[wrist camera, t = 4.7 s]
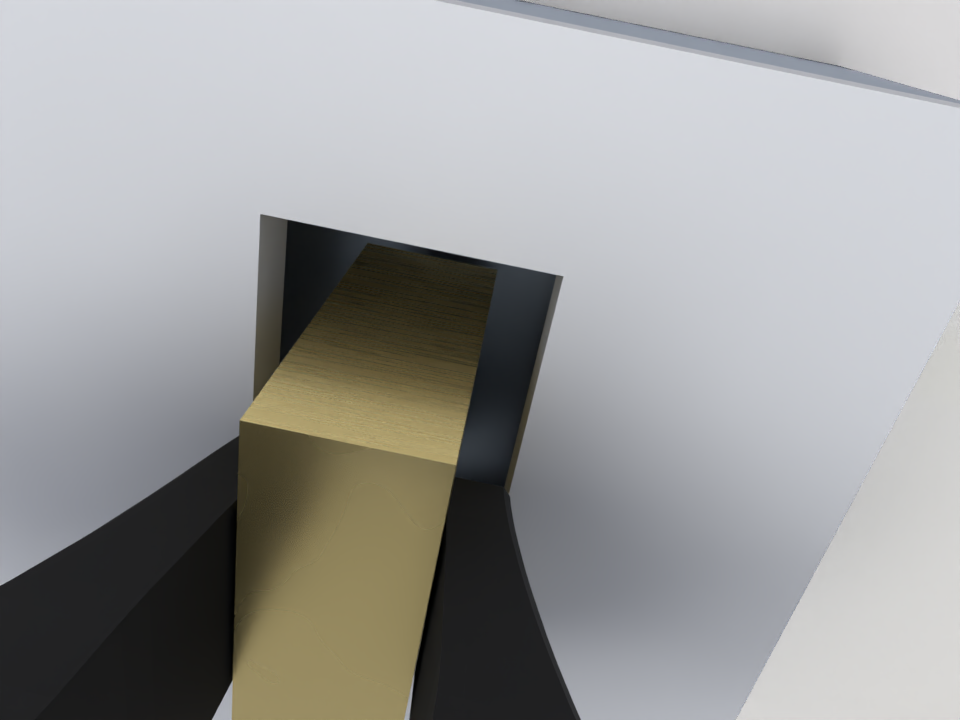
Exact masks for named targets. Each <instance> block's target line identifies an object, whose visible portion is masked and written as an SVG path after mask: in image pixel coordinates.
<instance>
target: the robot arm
mask: <svg viewBox="0 0 960 720" xmlns="http://www.w3.org/2000/svg"><path fill="white" fill-rule="evenodd" d="M238 457H239V436H237V437H236V438H234V439H233V440H231V441H230V442H228V443H227V444H225V445H223V446H222V447H220V448H219V449H217V450H216V451H214V452H213V453H211V454H210V455H209V456H207V457H206V458H204V459H203V460H201V461H200V462H198V463H197V464H195V465H194V466H192V467H191V468H189V469H188V470H186V471H185V472H184V473H182V474H181V475H179V476H178V477H176V478H175V479H173V480H172V481H170V482H169V483H167V484H166V485H164V486H163V487H161V488H160V489H158V490H157V491H155V492H154V493H152V494H151V495H149V496H148V497H146V498H145V499H143V500H141V501H140V502H138V503H137V504H135V505H134V506H132V507H131V508H129V509H127V510H126V511H124V512H123V513H121V514H120V515H118V516H116V517H115V518H113V519H112V520H110V521H109V522H107V523H106V524H104V525H102V526H101V527H99V528H98V529H96V530H95V531H93V532H91V533H90V534H88V535H86V536H85V537H83V538H82V539H80V540H78V541H76V542H75V543H73V544H71V545H70V546H68V547H66V548H64V549H63V550H61V551H59V552H58V553H56V554H54V555H52V556H51V557H49V558H47V559H46V560H44V561H42V562H41V563H39V564H37V565H35V566H34V567H32V568H30V569H29V570H27V571H25V572H23V573H22V574H20V575H18V576H17V577H15V578H13V579H11V580H10V581H8V582H6V583H4V584H2V585H1V586H0V720H212V719H213V717H214V715H215V713H216V711H217V709H218V707H219V705H220V703H221V702H222V700H223V698H224V696H225V694H226V692H227V690H228V688H229V686H230V684H231V682H232V680H233V647H234V609H235V571H236V533H237V495H238ZM409 720H581V719H580V716H579V714H578V712H577V710H576V707H575V705H574V703H573V700H572V698H571V695H570V693H569V690H568V688H567V686H566V683H565V681H564V678H563V676H562V673H561V671H560V669H559V666H558V664H557V661H556V658H555V656H554V653H553V650H552V648H551V645H550V642H549V640H548V637H547V634H546V631H545V628H544V625H543V622H542V620H541V617H540V614H539V611H538V608H537V605H536V602H535V599H534V596H533V593H532V590H531V587H530V583H529V580H528V577H527V573H526V570H525V566H524V563H523V559H522V555H521V551H520V548H519V544H518V539H517V535H516V531H515V526H514V521H513V515H512V509H511V501H510V495H509V494H508V493H507V491H506V490H505V488H504V487H502V486H497V485H492V484H487V483H483V482H478V481H473V480H468V479H463V478H458V477H455V479H454V484H453V488H452V493H451V498H450V503H449V507H448V512H447V517H446V522H445V527H444V532H443V536H442V541H441V546H440V551H439V556H438V561H437V566H436V571H435V576H434V580H433V585H432V590H431V595H430V600H429V605H428V610H427V615H426V620H425V625H424V629H423V634H422V639H421V644H420V649H419V654H418V659H417V664H416V669H415V674H414V683H413V692H412V700H411V709H410V718H409Z"/></svg>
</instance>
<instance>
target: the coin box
mask: <svg viewBox="0 0 960 720" xmlns="http://www.w3.org/2000/svg"><path fill="white" fill-rule="evenodd" d="M367 243H371V244H376V245H381V246H386V247H391V248H396V249H400V250H405V251H410V252H415V253H420V254H425V255H429V256H434V257H439V258H444V259H449V260H454V261H458V262H463V263H468V264H473V265H478V266H483V267H487V268H492V269H497V275H496V280H495V285H494V290H493V294H492V299H491V304H490V309H489V314H488V319H487V324H486V328H485V333H484V338H483V343H482V348H481V353H480V358H479V362H478V367H477V372H476V377H475V382H474V387H473V392H472V397H471V401H470V406H469V411H468V416H467V421H466V426H465V431H464V435H463V440H462V445H461V450H460V455H459V460H458V465H457V470H456V474H455V477H458V478H463V479H468V480H473V481H478V482H483V483H487V484H492V485H497V486H502V487H504V488H505V490H506V491H507V493H508V494H509V495H510V501H511V509H512V515H513V521H514V526H515V531H516V535H517V539H518V544H519V548H520V551H521V555H522V559H523V563H524V566H525V570H526V573H527V577H528V580H529V583H530V587H531V590H532V593H533V596H534V599H535V602H536V605H537V608H538V611H539V614H540V617H541V620H542V622H543V625H544V628H545V631H546V634H547V637H548V640H549V642H550V645H551V648H552V650H553V653H554V656H555V658H556V661H557V664H558V666H559V669H560V671H561V673H562V676H563V678H564V681H565V683H566V686H567V688H568V690H569V693H570V695H571V698H572V700H573V703H574V705H575V707H576V710H577V712H578V714H579V716H580V719H581V720H736V718H737V716H738V715H739V713H740V711H741V709H742V707H743V705H744V703H745V701H746V700H747V698H748V696H749V694H750V692H751V690H752V688H753V687H754V685H755V683H756V681H757V679H758V677H759V675H760V673H761V672H762V670H763V668H764V666H765V664H766V662H767V660H768V659H769V657H770V655H771V653H772V651H773V649H774V647H775V645H776V644H777V642H778V640H779V638H780V636H781V634H782V632H783V630H784V629H785V627H786V625H787V623H788V621H789V619H790V617H791V616H792V614H793V612H794V610H795V608H796V606H797V604H798V602H799V601H800V599H801V597H802V595H803V593H804V591H805V589H806V588H807V586H808V584H809V582H810V580H811V578H812V576H813V574H814V573H815V571H816V569H817V567H818V565H819V563H820V561H821V560H822V558H823V556H824V554H825V552H826V550H827V548H828V546H829V545H830V543H831V541H832V539H833V537H834V535H835V533H836V532H837V530H838V528H839V526H840V524H841V522H842V520H843V518H844V517H845V515H846V513H847V511H848V509H849V507H850V505H851V503H852V502H853V500H854V498H855V496H856V494H857V492H858V490H859V489H860V487H861V485H862V483H863V481H864V479H865V477H866V475H867V474H868V472H869V470H870V468H871V466H872V464H873V462H874V461H875V459H876V457H877V455H878V453H879V451H880V449H881V447H882V446H883V444H884V442H885V440H886V438H887V436H888V434H889V433H890V431H891V429H892V427H893V425H894V423H895V421H896V419H897V418H898V416H899V414H900V412H901V410H902V408H903V406H904V404H905V403H906V401H907V399H908V397H909V395H910V393H911V391H912V390H913V388H914V386H915V384H916V382H917V380H918V378H919V376H920V375H921V373H922V371H923V369H924V367H925V365H926V363H927V362H928V360H929V358H930V356H931V354H932V352H933V350H934V348H935V347H936V345H937V343H938V341H939V339H940V337H941V335H942V334H943V332H944V330H945V328H946V326H947V324H948V322H949V320H950V319H951V317H952V315H953V313H954V311H955V309H956V307H957V305H958V304H959V302H960V100H956V99H953V98H949V97H946V96H942V95H939V94H935V93H932V92H928V91H925V90H921V89H918V88H914V87H911V86H907V85H904V84H900V83H897V82H893V81H890V80H886V79H883V78H879V77H876V76H872V75H869V74H865V73H862V72H858V71H855V70H851V69H848V68H844V67H841V66H836V65H831V64H827V63H822V62H817V61H812V60H807V59H802V58H797V57H792V56H788V55H783V54H778V53H773V52H768V51H763V50H758V49H753V48H749V47H744V46H739V45H734V44H729V43H724V42H719V41H715V40H710V39H705V38H700V37H695V36H690V35H685V34H680V33H676V32H671V31H666V30H661V29H656V28H651V27H646V26H641V25H637V24H632V23H627V22H622V21H617V20H612V19H607V18H603V17H598V16H593V15H588V14H583V13H578V12H573V11H568V10H564V9H559V8H554V7H549V6H544V5H539V4H534V3H529V2H525V1H520V0H0V586H1V585H2V584H4V583H6V582H8V581H10V580H11V579H13V578H15V577H17V576H18V575H20V574H22V573H23V572H25V571H27V570H29V569H30V568H32V567H34V566H35V565H37V564H39V563H41V562H42V561H44V560H46V559H47V558H49V557H51V556H52V555H54V554H56V553H58V552H59V551H61V550H63V549H64V548H66V547H68V546H70V545H71V544H73V543H75V542H76V541H78V540H80V539H82V538H83V537H85V536H86V535H88V534H90V533H91V532H93V531H95V530H96V529H98V528H99V527H101V526H102V525H104V524H106V523H107V522H109V521H110V520H112V519H113V518H115V517H116V516H118V515H120V514H121V513H123V512H124V511H126V510H127V509H129V508H131V507H132V506H134V505H135V504H137V503H138V502H140V501H141V500H143V499H145V498H146V497H148V496H149V495H151V494H152V493H154V492H155V491H157V490H158V489H160V488H161V487H163V486H164V485H166V484H167V483H169V482H170V481H172V480H173V479H175V478H176V477H178V476H179V475H181V474H182V473H184V472H185V471H186V470H188V469H189V468H191V467H192V466H194V465H195V464H197V463H198V462H200V461H201V460H203V459H204V458H206V457H207V456H209V455H210V454H211V453H213V452H214V451H216V450H217V449H219V448H220V447H222V446H223V445H225V444H227V443H228V442H230V441H231V440H233V439H234V438H236V437H237V436H239V420H240V419H241V418H242V416H243V415H244V414H245V412H246V411H247V409H248V408H249V407H250V405H251V404H252V402H253V401H254V400H255V398H256V397H257V396H258V394H259V393H260V391H261V390H262V389H263V387H264V386H265V384H266V383H267V382H268V380H269V379H270V378H271V376H272V375H273V373H274V372H275V371H276V369H277V368H278V366H279V365H280V364H281V362H282V361H283V360H284V358H285V357H286V355H287V354H288V353H289V351H290V350H291V348H292V347H293V346H294V344H295V343H296V342H297V340H298V339H299V337H300V336H301V335H302V333H303V332H304V330H305V329H306V328H307V326H308V325H309V324H310V322H311V321H312V319H313V318H314V317H315V315H316V314H317V312H318V311H319V310H320V308H321V307H322V306H323V304H324V303H325V301H326V300H327V299H328V297H329V296H330V294H331V293H332V292H333V290H334V289H335V288H336V286H337V285H338V283H339V282H340V281H341V279H342V278H343V276H344V275H345V274H346V272H347V271H348V269H349V268H350V267H351V265H352V264H353V263H354V261H355V260H356V258H357V257H358V256H359V254H360V253H361V251H362V250H363V249H364V247H365V246H366V245H367ZM428 605H429V604H428ZM427 610H428V609H427ZM426 615H427V614H426ZM425 620H426V619H425ZM424 625H425V623H424ZM423 629H424V628H423ZM422 634H423V633H422ZM421 639H422V638H421ZM420 644H421V643H420ZM419 649H420V647H419ZM418 654H419V652H418ZM417 659H418V657H417ZM416 664H417V662H416ZM415 669H416V667H415ZM414 674H415V671H414ZM413 683H414V676H413V681H412V686H411V690H410V695H409V700H408V705H407V710H406V714H405V719H404V720H409V718H410V709H411V700H412V692H413ZM232 685H233V680H232V682H231V684H230V686H229V688H228V690H227V692H226V694H225V696H224V698H223V700H222V702H221V703H220V705H219V707H218V709H217V711H216V713H215V715H214V717H213V719H212V720H232Z"/></svg>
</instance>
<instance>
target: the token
mask: <svg viewBox="0 0 960 720" xmlns="http://www.w3.org/2000/svg"><path fill="white" fill-rule="evenodd" d="M496 275H497V269H492V268H487V267H483V266H478V265H473V264H468V263H463V262H458V261H454V260H449V259H444V258H439V257H434V256H429V255H425V254H420V253H415V252H410V251H405V250H400V249H396V248H391V247H386V246H381V245H376V244H371V243H367V245H366V246H365V247H364V249H363V250H362V251H361V253H360V254H359V256H358V257H357V258H356V260H355V261H354V263H353V264H352V265H351V267H350V268H349V269H348V271H347V272H346V274H345V275H344V276H343V278H342V279H341V281H340V282H339V283H338V285H337V286H336V288H335V289H334V290H333V292H332V293H331V294H330V296H329V297H328V299H327V300H326V301H325V303H324V304H323V306H322V307H321V308H320V310H319V311H318V312H317V314H316V315H315V317H314V318H313V319H312V321H311V322H310V324H309V325H308V326H307V328H306V329H305V330H304V332H303V333H302V335H301V336H300V337H299V339H298V340H297V342H296V343H295V344H294V346H293V347H292V348H291V350H290V351H289V353H288V354H287V355H286V357H285V358H284V360H283V361H282V362H281V364H280V365H279V366H278V368H277V369H276V371H275V372H274V373H273V375H272V376H271V378H270V379H269V380H268V382H267V383H266V384H265V386H264V387H263V389H262V390H261V391H260V393H259V394H258V396H257V397H256V398H255V400H254V401H253V402H252V404H251V405H250V407H249V408H248V409H247V411H246V412H245V414H244V415H243V416H242V418H241V419H240V420H239V457H238V495H237V533H236V571H235V609H234V647H233V685H232V720H404V719H405V714H406V710H407V705H408V700H409V695H410V690H411V686H412V681H413V676H414V671H415V667H416V662H417V657H418V652H419V647H420V643H421V638H422V633H423V628H424V623H425V619H426V614H427V609H428V604H429V600H430V595H431V590H432V585H433V580H434V576H435V571H436V566H437V561H438V556H439V551H440V546H441V541H442V536H443V532H444V527H445V522H446V517H447V512H448V507H449V503H450V498H451V493H452V488H453V484H454V479H455V474H456V470H457V465H458V460H459V455H460V450H461V445H462V440H463V435H464V431H465V426H466V421H467V416H468V411H469V406H470V401H471V397H472V392H473V387H474V382H475V377H476V372H477V367H478V362H479V358H480V353H481V348H482V343H483V338H484V333H485V328H486V324H487V319H488V314H489V309H490V304H491V299H492V294H493V290H494V285H495V280H496Z"/></svg>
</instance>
